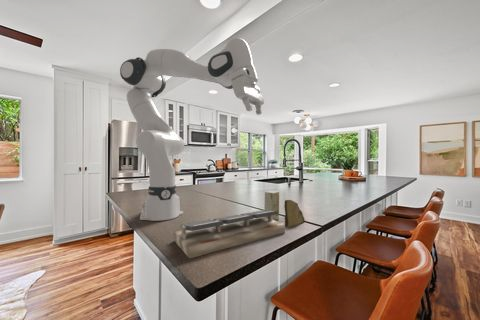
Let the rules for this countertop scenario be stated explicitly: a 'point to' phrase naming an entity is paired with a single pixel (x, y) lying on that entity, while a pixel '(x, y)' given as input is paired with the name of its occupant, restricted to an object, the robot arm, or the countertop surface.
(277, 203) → the skincare box
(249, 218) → the panel
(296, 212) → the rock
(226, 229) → the switch panel
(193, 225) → the panel
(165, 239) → the countertop surface
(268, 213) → the rocker
